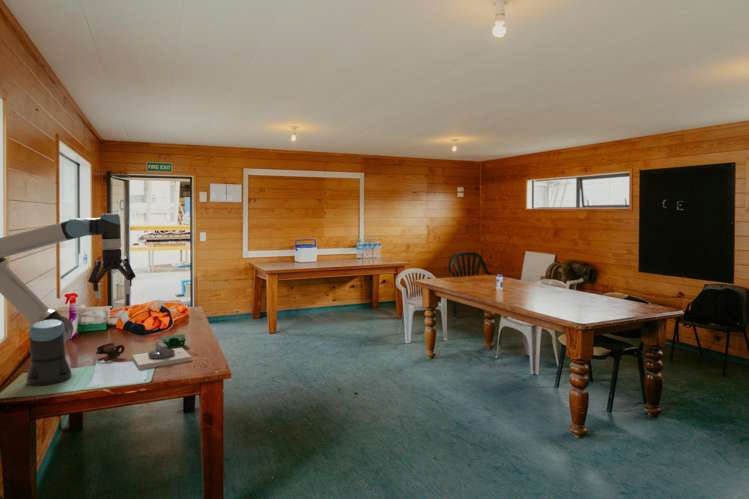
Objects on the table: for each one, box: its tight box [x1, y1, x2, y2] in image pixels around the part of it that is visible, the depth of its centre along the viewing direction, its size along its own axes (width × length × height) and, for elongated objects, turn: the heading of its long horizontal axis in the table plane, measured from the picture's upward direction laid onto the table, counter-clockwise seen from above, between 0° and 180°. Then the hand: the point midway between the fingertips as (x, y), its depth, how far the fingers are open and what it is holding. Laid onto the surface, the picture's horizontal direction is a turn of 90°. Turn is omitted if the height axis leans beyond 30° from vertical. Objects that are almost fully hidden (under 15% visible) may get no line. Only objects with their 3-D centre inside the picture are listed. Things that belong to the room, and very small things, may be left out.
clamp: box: [160, 333, 187, 349], centre depth 242 cm, size 12×6×9 cm, turn 112°
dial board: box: [131, 347, 192, 370], centre depth 222 cm, size 22×18×2 cm
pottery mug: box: [95, 342, 126, 362], centre depth 225 cm, size 12×10×8 cm
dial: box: [147, 339, 174, 359], centre depth 222 cm, size 11×11×6 cm
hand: (113, 296), depth 214 cm, fingers open, 13 cm apart
